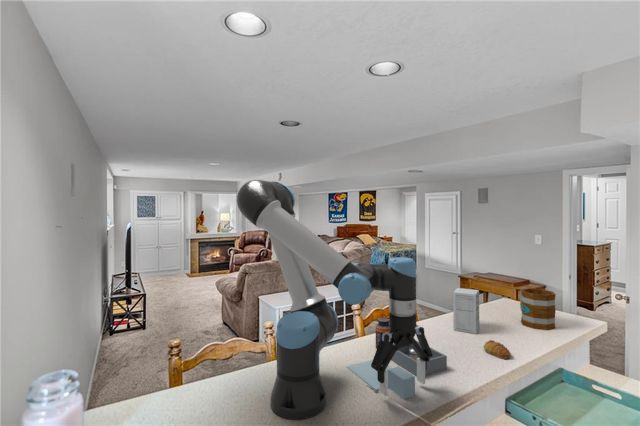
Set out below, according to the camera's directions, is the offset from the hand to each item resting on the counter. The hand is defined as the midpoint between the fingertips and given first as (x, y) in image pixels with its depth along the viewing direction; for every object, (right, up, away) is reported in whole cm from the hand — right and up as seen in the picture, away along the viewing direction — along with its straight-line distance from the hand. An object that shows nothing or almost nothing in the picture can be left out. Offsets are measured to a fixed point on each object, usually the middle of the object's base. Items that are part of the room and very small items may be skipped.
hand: (402, 387), depth 97 cm
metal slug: (+9, -1, +23) cm, 25 cm away
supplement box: (+40, -1, +52) cm, 66 cm away
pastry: (+41, -2, +27) cm, 49 cm away
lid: (-4, -2, +8) cm, 9 cm away
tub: (+9, -2, +19) cm, 21 cm away
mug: (+74, -1, +60) cm, 95 cm away
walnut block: (+8, -1, +14) cm, 16 cm away
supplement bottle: (0, -2, +31) cm, 31 cm away
